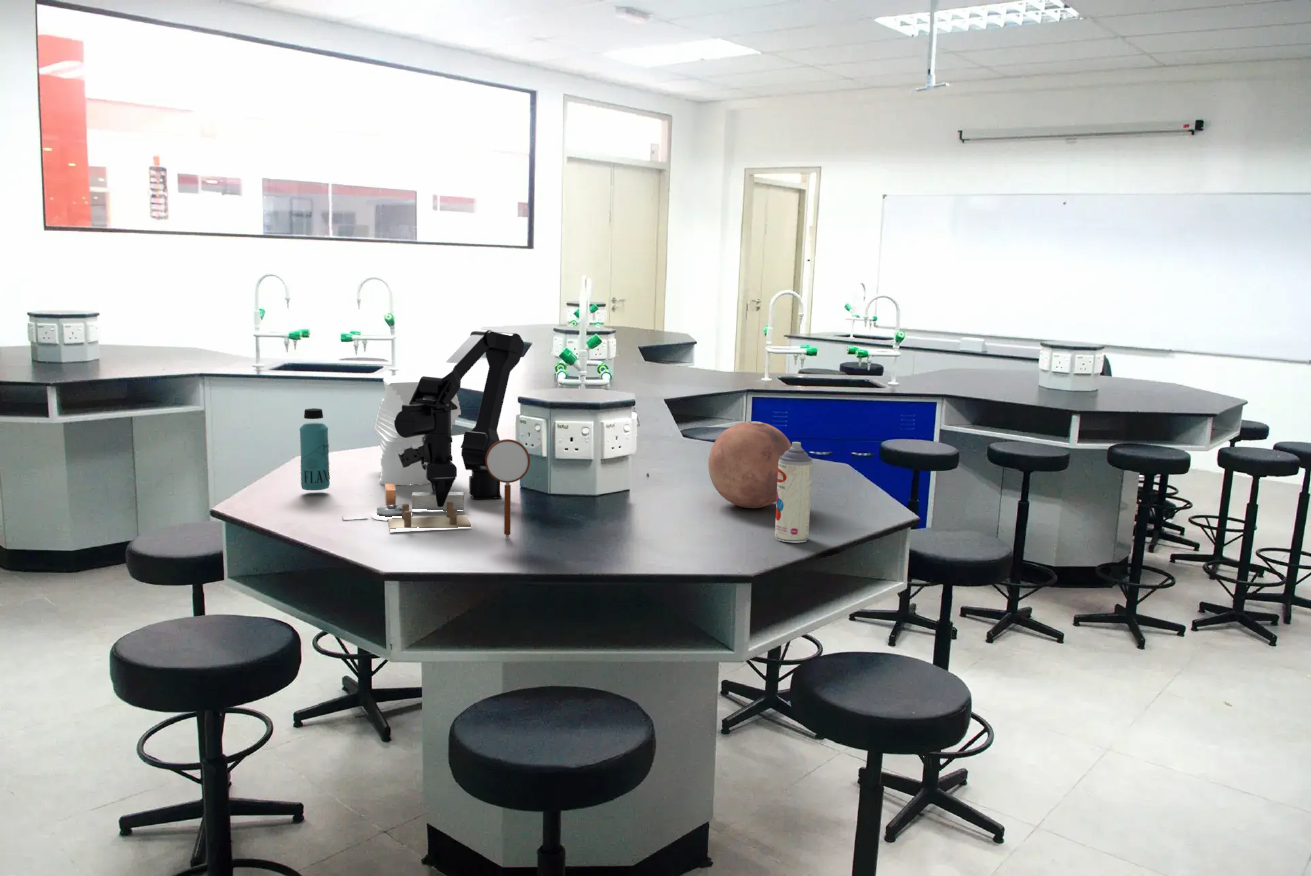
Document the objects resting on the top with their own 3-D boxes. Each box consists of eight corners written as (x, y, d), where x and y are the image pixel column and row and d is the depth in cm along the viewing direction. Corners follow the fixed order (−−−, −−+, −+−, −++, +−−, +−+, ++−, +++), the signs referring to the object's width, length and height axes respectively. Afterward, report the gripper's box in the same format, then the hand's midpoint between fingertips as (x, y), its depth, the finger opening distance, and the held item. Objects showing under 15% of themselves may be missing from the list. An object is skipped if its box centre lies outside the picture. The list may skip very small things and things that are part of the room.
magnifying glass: (529, 538, 190) (530, 438, 187) (529, 540, 188) (529, 440, 185) (485, 537, 189) (485, 438, 186) (484, 540, 188) (484, 439, 184)
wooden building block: (403, 502, 214) (403, 483, 214) (407, 516, 202) (406, 495, 201) (375, 503, 212) (375, 484, 212) (377, 517, 200) (377, 497, 200)
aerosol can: (772, 534, 198) (777, 439, 195) (805, 535, 198) (811, 440, 195) (776, 543, 191) (781, 444, 188) (810, 544, 191) (816, 446, 188)
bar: (463, 509, 213) (463, 491, 212) (463, 512, 210) (463, 495, 209) (413, 509, 211) (412, 492, 210) (411, 513, 208) (411, 495, 207)
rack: (466, 519, 203) (466, 501, 202) (471, 529, 196) (471, 510, 195) (388, 523, 198) (387, 504, 198) (390, 533, 191) (389, 513, 190)
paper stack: (373, 489, 228) (371, 382, 224) (374, 468, 254) (372, 371, 250) (463, 487, 234) (462, 382, 230) (455, 466, 260) (455, 371, 256)
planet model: (799, 501, 229) (803, 418, 226) (787, 520, 210) (792, 431, 207) (716, 494, 234) (720, 413, 231) (698, 512, 215) (701, 424, 212)
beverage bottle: (299, 497, 219) (296, 410, 215) (302, 491, 225) (299, 406, 222) (329, 496, 220) (327, 410, 217) (331, 490, 227) (329, 406, 223)
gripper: (397, 426, 214) (398, 494, 216) (401, 439, 196) (403, 513, 199) (447, 425, 217) (448, 492, 220) (456, 438, 200) (457, 511, 202)
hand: (438, 501), depth 210 cm, fingers open, 9 cm apart
